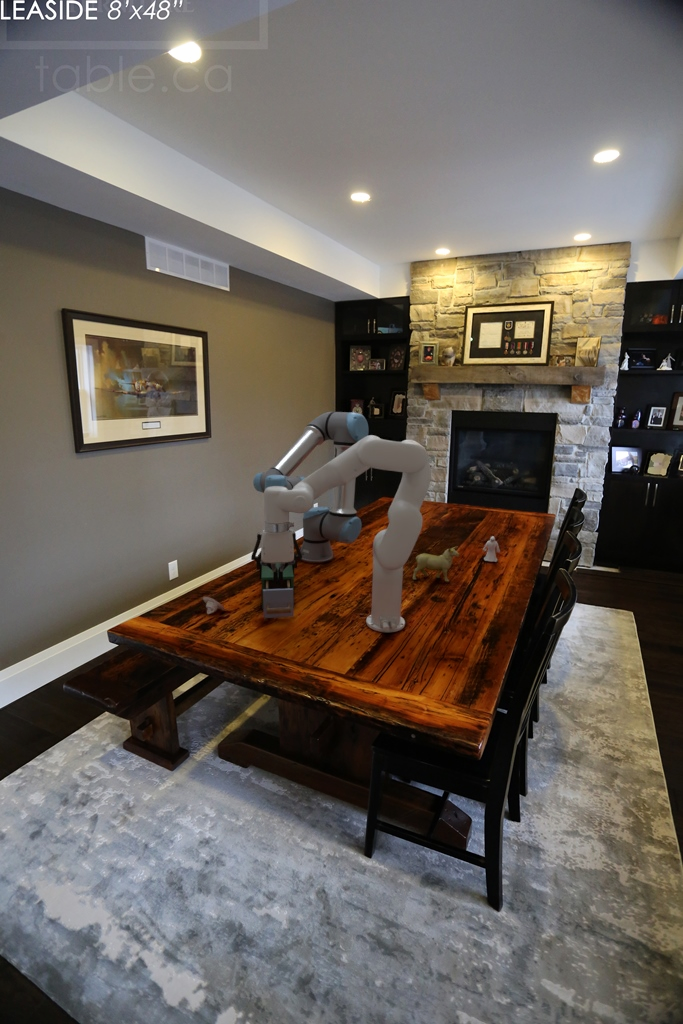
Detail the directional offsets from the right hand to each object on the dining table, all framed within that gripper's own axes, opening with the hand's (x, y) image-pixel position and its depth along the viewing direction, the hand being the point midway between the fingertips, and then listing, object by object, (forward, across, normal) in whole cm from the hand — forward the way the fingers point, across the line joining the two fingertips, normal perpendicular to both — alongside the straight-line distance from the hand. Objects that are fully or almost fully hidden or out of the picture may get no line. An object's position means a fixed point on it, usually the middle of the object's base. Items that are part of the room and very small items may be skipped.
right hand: (278, 582), depth 159 cm
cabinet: (+14, 0, -19) cm, 24 cm away
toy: (+15, -63, -31) cm, 71 cm away
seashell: (+14, +22, -10) cm, 28 cm away
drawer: (+13, 0, -7) cm, 15 cm away
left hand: (+8, 0, -23) cm, 24 cm away
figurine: (+15, -96, -52) cm, 110 cm away
